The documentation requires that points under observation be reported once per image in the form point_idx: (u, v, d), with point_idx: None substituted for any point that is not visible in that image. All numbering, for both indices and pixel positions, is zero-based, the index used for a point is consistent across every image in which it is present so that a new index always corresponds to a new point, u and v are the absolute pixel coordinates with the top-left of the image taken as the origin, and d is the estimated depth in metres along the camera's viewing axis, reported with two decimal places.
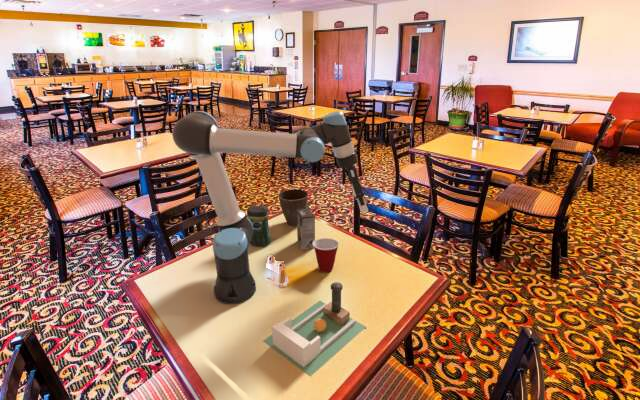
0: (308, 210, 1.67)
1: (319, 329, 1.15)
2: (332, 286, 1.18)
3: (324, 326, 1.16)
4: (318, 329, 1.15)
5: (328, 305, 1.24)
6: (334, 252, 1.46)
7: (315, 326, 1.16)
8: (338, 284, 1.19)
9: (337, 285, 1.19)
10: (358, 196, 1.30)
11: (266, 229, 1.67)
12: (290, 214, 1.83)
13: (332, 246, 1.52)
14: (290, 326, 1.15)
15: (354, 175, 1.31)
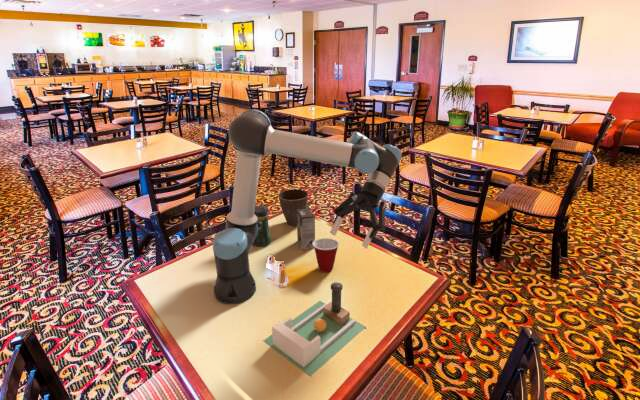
0: (308, 210, 1.67)
1: (319, 329, 1.15)
2: (332, 286, 1.18)
3: (324, 326, 1.16)
4: (318, 329, 1.15)
5: (328, 305, 1.24)
6: (334, 252, 1.46)
7: (315, 326, 1.16)
8: (338, 284, 1.19)
9: (337, 285, 1.19)
10: (382, 227, 1.19)
11: (266, 229, 1.67)
12: (290, 214, 1.83)
13: (332, 246, 1.52)
14: (290, 326, 1.15)
15: (384, 207, 1.23)
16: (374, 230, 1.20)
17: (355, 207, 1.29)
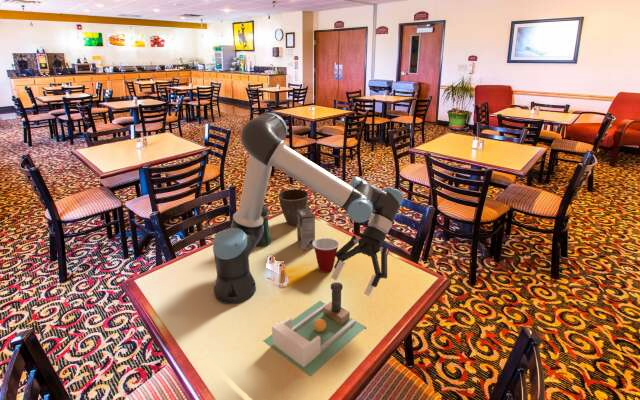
0: (308, 210, 1.67)
1: (319, 329, 1.15)
2: (332, 286, 1.18)
3: (324, 326, 1.16)
4: (318, 329, 1.15)
5: (328, 305, 1.24)
6: (334, 252, 1.46)
7: (315, 326, 1.16)
8: (338, 284, 1.19)
9: (337, 285, 1.19)
10: (385, 275, 1.17)
11: (266, 229, 1.67)
12: (290, 214, 1.83)
13: (332, 246, 1.52)
14: (290, 326, 1.15)
15: (386, 253, 1.22)
16: (376, 278, 1.18)
17: (357, 251, 1.27)
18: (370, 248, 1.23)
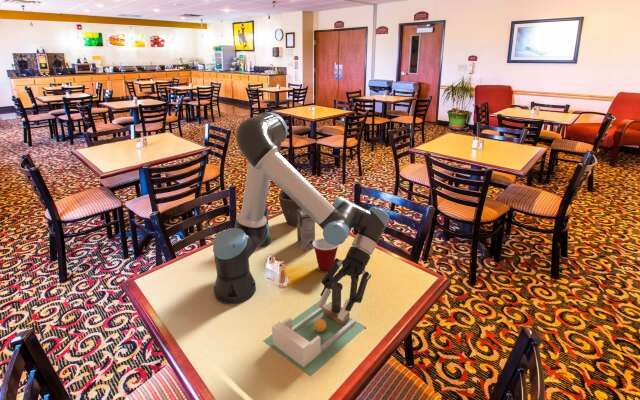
0: None
1: (319, 329, 1.15)
2: (332, 286, 1.18)
3: (324, 326, 1.16)
4: (318, 329, 1.15)
5: (328, 305, 1.24)
6: (334, 252, 1.46)
7: (315, 326, 1.16)
8: (338, 284, 1.19)
9: (337, 285, 1.19)
10: (358, 299, 1.16)
11: None
12: (290, 214, 1.83)
13: (332, 246, 1.52)
14: (290, 326, 1.15)
15: (367, 278, 1.19)
16: (350, 302, 1.17)
17: (342, 274, 1.23)
18: (352, 270, 1.20)
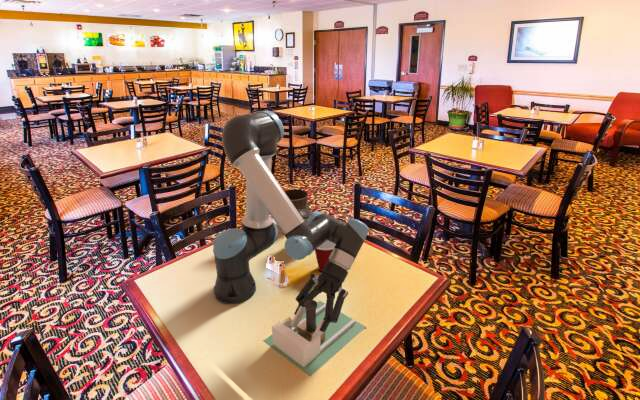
0: (308, 210, 1.67)
1: None
2: (306, 304, 1.10)
3: None
4: None
5: (303, 324, 1.16)
6: None
7: None
8: (312, 302, 1.11)
9: (312, 303, 1.10)
10: (334, 319, 1.08)
11: None
12: None
13: (332, 246, 1.52)
14: (290, 326, 1.15)
15: (344, 296, 1.11)
16: (325, 322, 1.09)
17: (318, 291, 1.15)
18: (328, 287, 1.12)
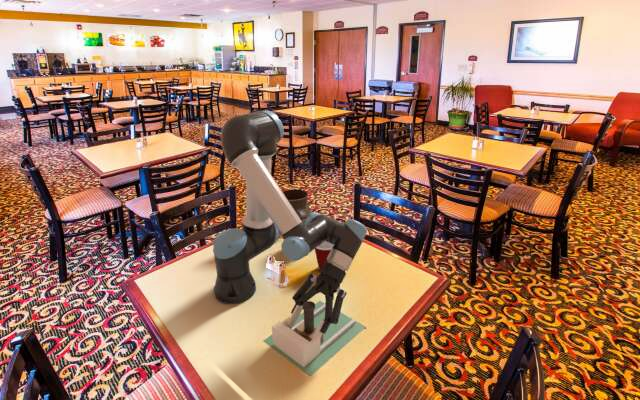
0: (308, 210, 1.67)
1: None
2: (304, 306, 1.09)
3: None
4: None
5: (301, 325, 1.15)
6: None
7: None
8: (310, 303, 1.10)
9: (310, 304, 1.10)
10: (334, 320, 1.07)
11: None
12: None
13: (332, 246, 1.52)
14: (290, 326, 1.15)
15: (343, 296, 1.10)
16: (325, 323, 1.07)
17: (315, 292, 1.15)
18: (326, 288, 1.11)
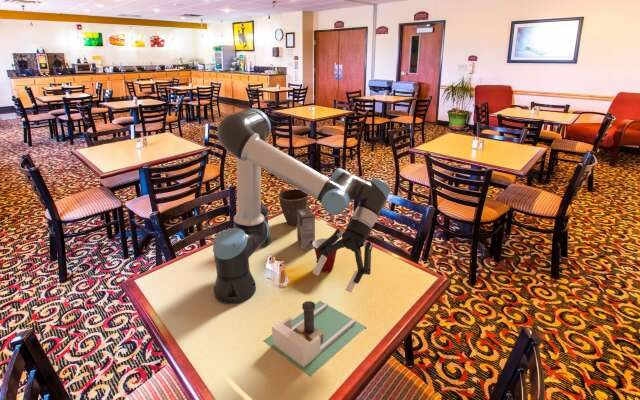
0: (308, 210, 1.67)
1: (303, 337, 1.10)
2: (304, 306, 1.09)
3: None
4: (302, 336, 1.10)
5: (301, 325, 1.15)
6: (334, 252, 1.46)
7: (301, 334, 1.11)
8: (310, 303, 1.10)
9: (310, 304, 1.10)
10: (367, 271, 1.11)
11: None
12: (290, 214, 1.83)
13: None
14: (290, 326, 1.15)
15: (370, 248, 1.15)
16: (359, 274, 1.12)
17: (340, 246, 1.20)
18: (353, 242, 1.16)
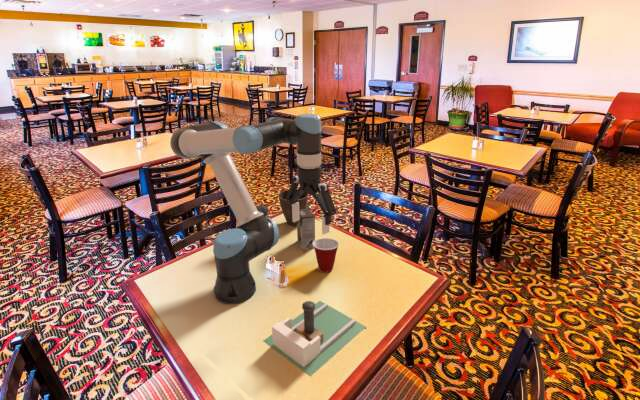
0: (308, 210, 1.67)
1: None
2: (304, 306, 1.09)
3: None
4: None
5: (301, 325, 1.15)
6: (334, 252, 1.46)
7: (301, 334, 1.11)
8: (310, 303, 1.10)
9: (310, 304, 1.10)
10: (332, 213, 1.14)
11: None
12: (290, 214, 1.83)
13: (332, 246, 1.52)
14: (290, 326, 1.15)
15: (326, 189, 1.14)
16: (327, 217, 1.16)
17: (302, 191, 1.21)
18: (310, 189, 1.15)
